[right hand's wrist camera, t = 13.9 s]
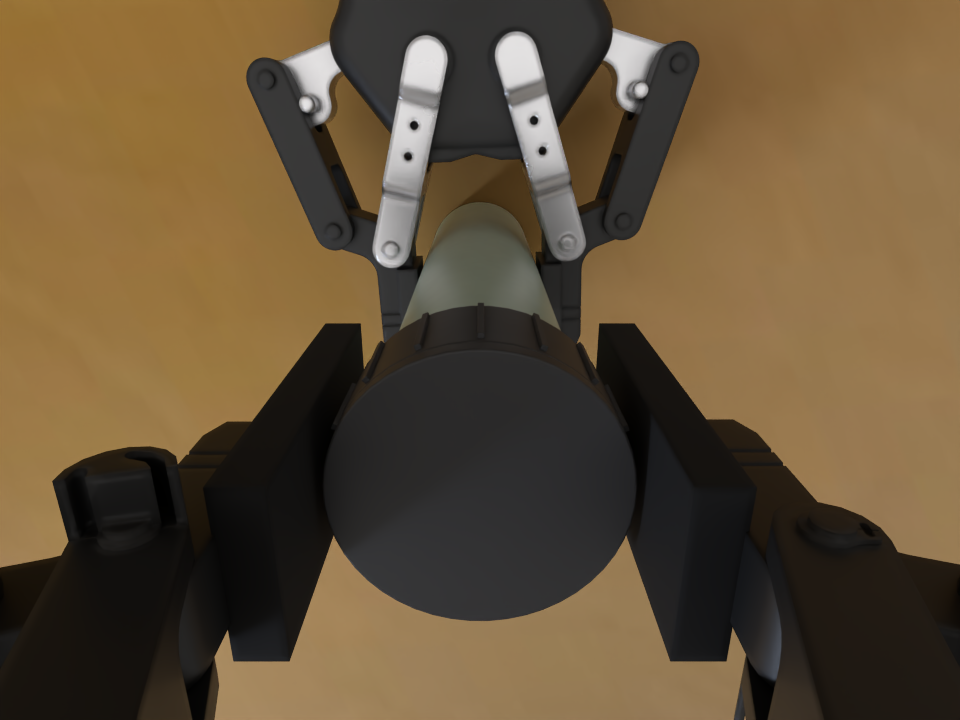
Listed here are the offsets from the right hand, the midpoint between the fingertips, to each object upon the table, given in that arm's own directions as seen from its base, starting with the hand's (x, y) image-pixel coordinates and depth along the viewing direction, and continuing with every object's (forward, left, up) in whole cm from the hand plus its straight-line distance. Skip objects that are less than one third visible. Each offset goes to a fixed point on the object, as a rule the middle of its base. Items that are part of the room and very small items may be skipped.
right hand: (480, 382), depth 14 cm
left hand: (-2, +2, -9) cm, 9 cm away
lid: (0, 0, +4) cm, 4 cm away
